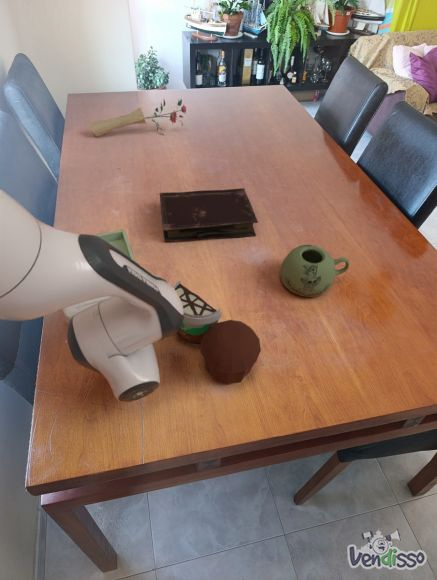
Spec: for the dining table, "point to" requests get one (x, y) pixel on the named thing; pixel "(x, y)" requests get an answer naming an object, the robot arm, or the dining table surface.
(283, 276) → the mug
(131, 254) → the organiser
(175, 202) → the diary
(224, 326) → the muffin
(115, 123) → the flower vase
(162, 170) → the dining table surface
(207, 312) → the food container
